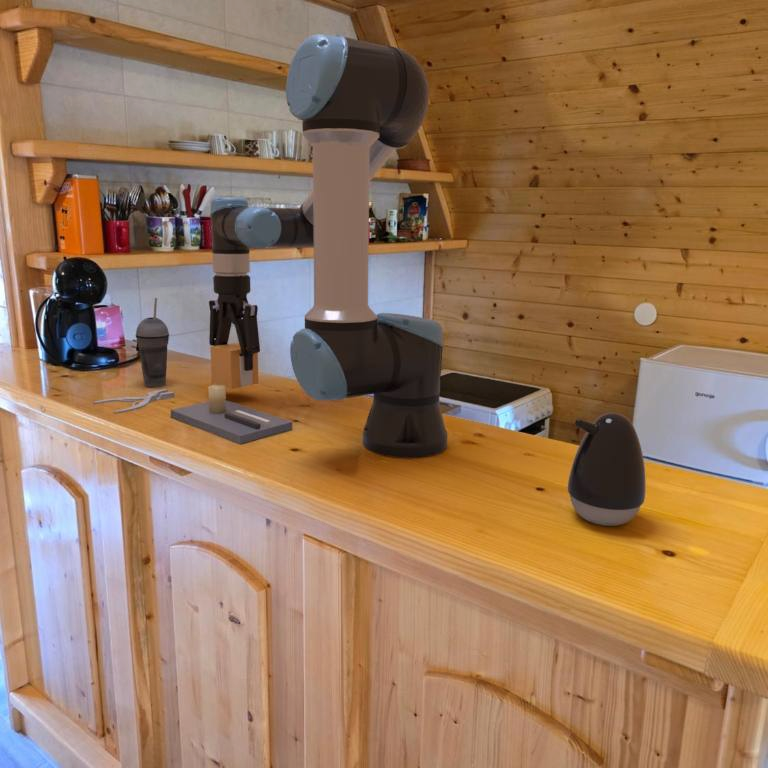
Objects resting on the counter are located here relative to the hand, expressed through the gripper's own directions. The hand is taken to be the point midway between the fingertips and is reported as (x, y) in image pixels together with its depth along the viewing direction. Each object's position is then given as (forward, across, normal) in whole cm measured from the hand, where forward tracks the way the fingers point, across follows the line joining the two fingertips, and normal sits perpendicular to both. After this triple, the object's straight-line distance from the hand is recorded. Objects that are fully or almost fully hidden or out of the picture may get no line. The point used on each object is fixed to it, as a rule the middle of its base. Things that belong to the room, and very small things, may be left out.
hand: (235, 381), depth 149 cm
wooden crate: (0, 0, 0) cm, 0 cm away
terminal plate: (+4, -13, +11) cm, 18 cm away
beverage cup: (+4, +22, +6) cm, 23 cm away
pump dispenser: (+6, -83, 0) cm, 84 cm away
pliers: (+4, +12, +16) cm, 20 cm away
